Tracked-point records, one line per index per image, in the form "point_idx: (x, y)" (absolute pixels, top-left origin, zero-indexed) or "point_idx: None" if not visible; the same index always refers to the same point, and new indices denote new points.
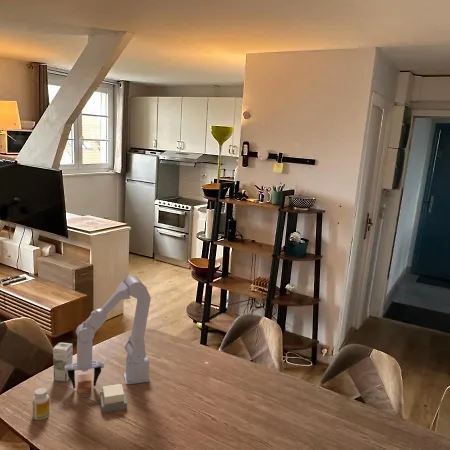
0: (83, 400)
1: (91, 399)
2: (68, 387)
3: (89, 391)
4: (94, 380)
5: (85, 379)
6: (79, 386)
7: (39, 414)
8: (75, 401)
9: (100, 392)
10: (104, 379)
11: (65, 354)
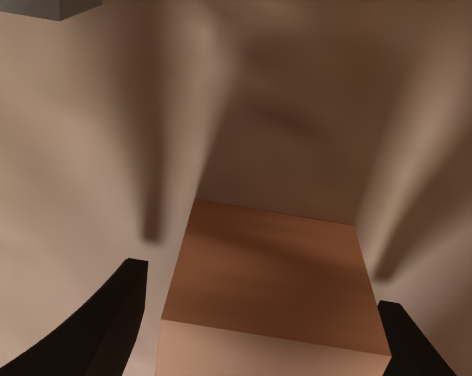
0: (336, 53)
1: (224, 30)
2: None
3: (216, 207)
4: (115, 316)
5: (252, 373)
6: (350, 290)
7: None
8: (445, 76)
9: (52, 19)
10: (33, 338)
11: None
